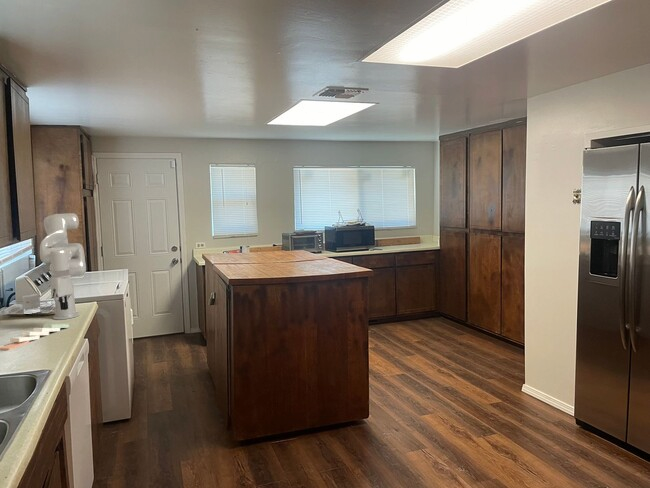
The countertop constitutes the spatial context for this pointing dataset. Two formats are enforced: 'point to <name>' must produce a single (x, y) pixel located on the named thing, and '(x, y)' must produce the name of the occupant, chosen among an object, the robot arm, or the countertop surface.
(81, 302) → the countertop surface
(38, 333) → the domino
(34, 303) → the small box
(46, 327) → the domino
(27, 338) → the domino
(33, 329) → the domino
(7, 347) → the domino
